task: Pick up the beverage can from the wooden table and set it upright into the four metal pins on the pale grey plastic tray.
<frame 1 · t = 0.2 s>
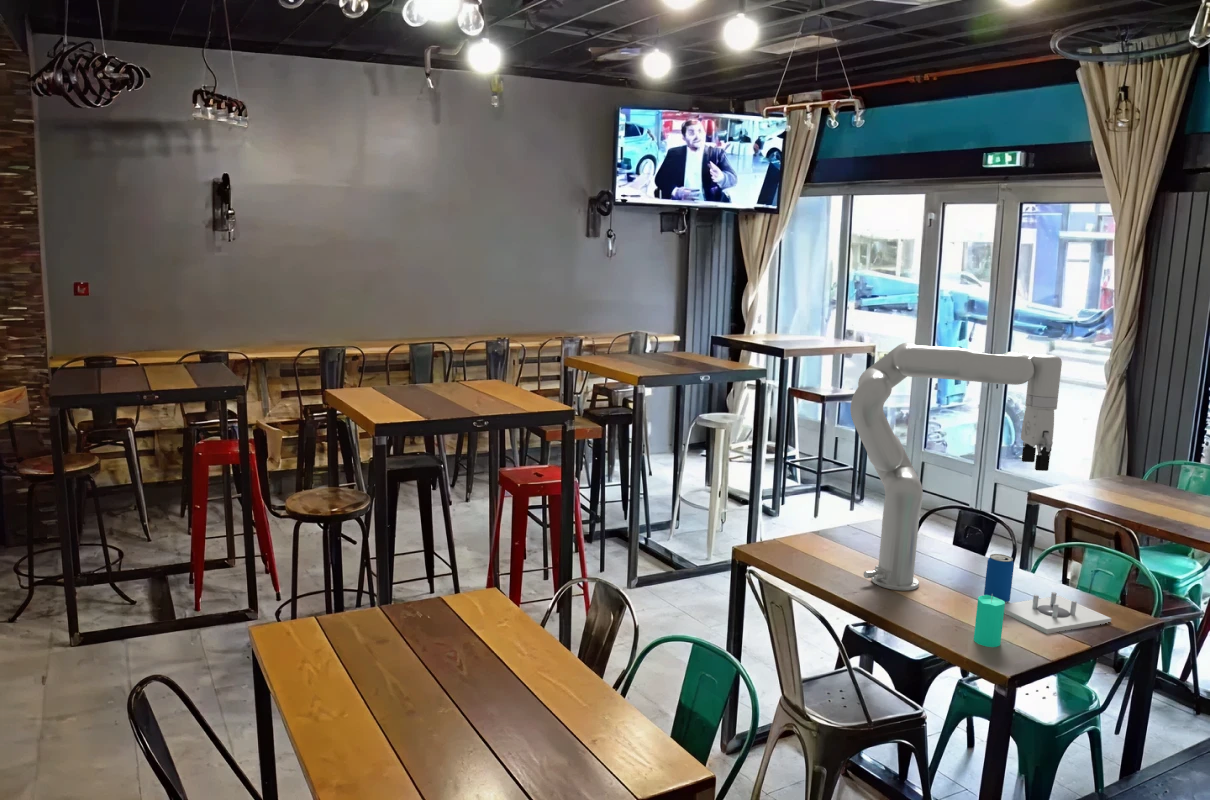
hand: (1034, 465, 249), 36 cm above the table, tool pointing down, fingers open, 9 cm apart
candle: (986, 642, 224), on the table
beverage can: (996, 601, 251), on the table
pin tray: (1052, 616, 242), on the table
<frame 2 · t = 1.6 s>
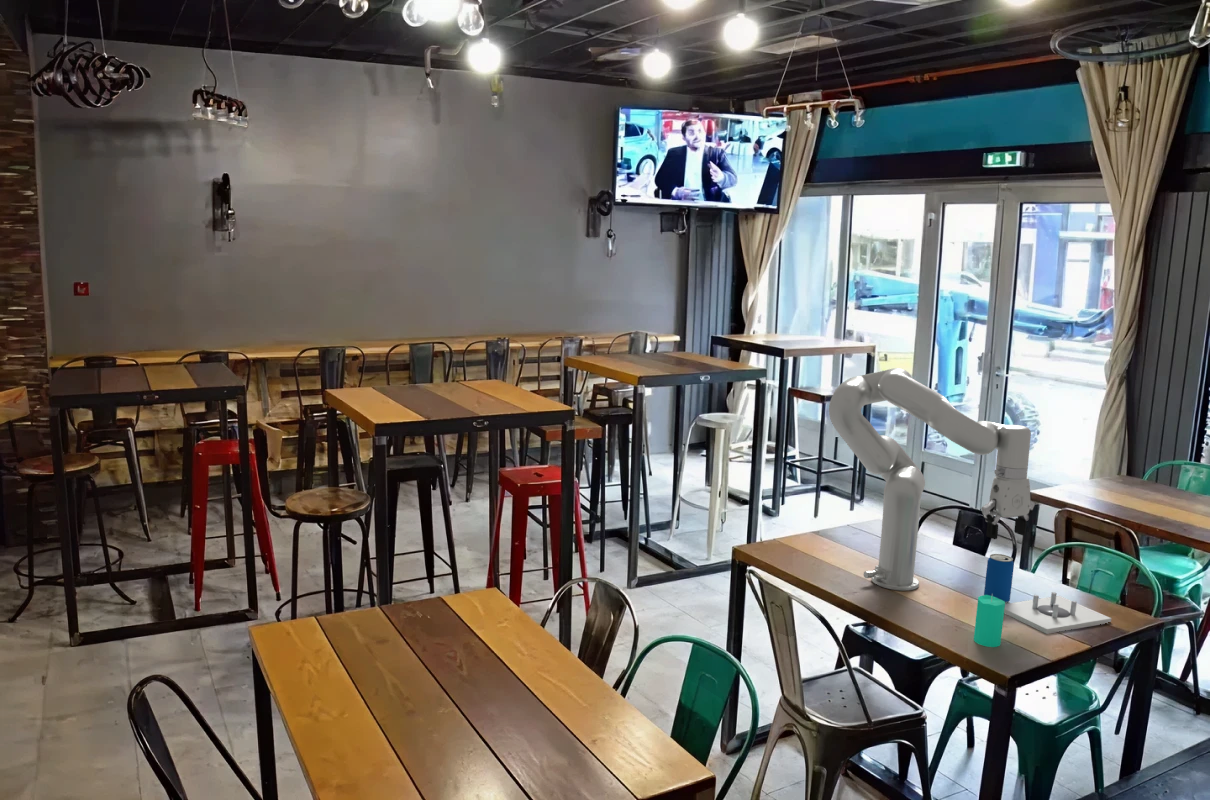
hand: (1005, 535, 248), 18 cm above the table, tool pointing down, fingers open, 9 cm apart
nothing on the table moved.
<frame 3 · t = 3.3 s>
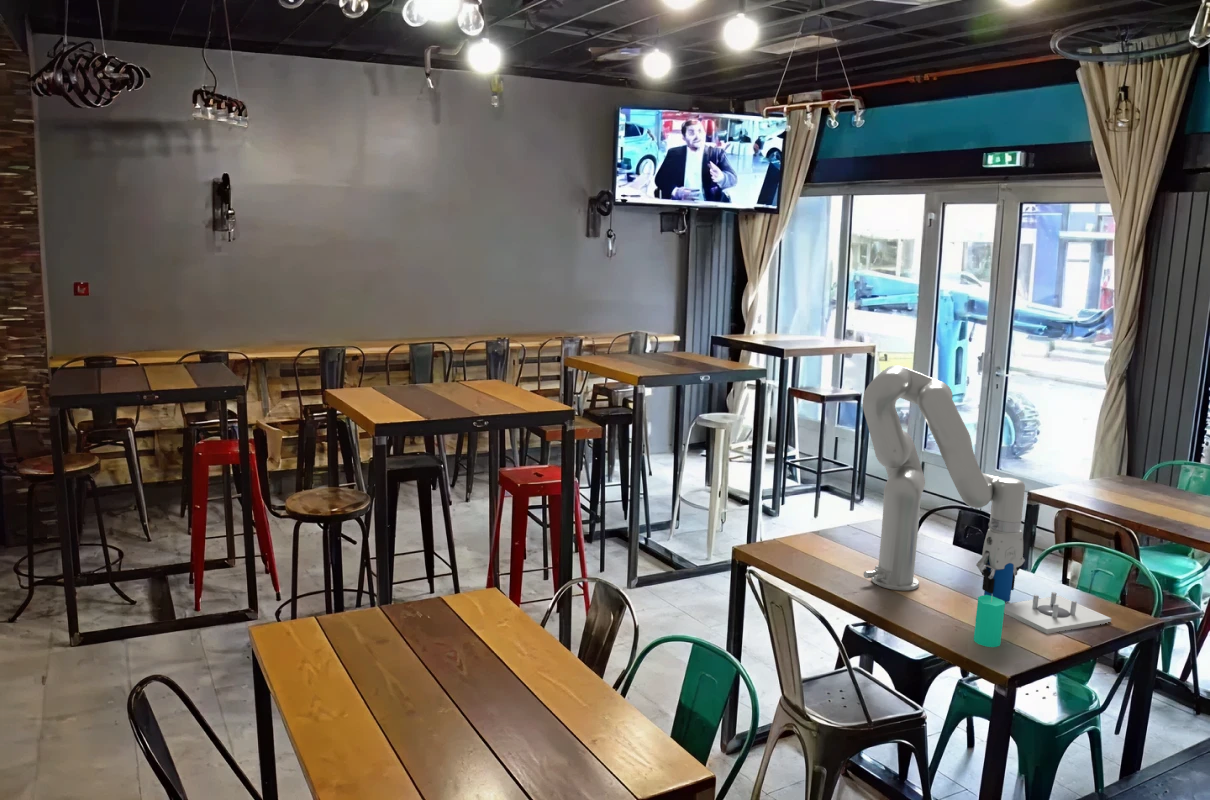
hand: (997, 589, 250), 3 cm above the table, tool pointing down, fingers closed on beverage can, 6 cm apart
beverage can: (996, 601, 251), on the table, touching gripper
everything else where it was.
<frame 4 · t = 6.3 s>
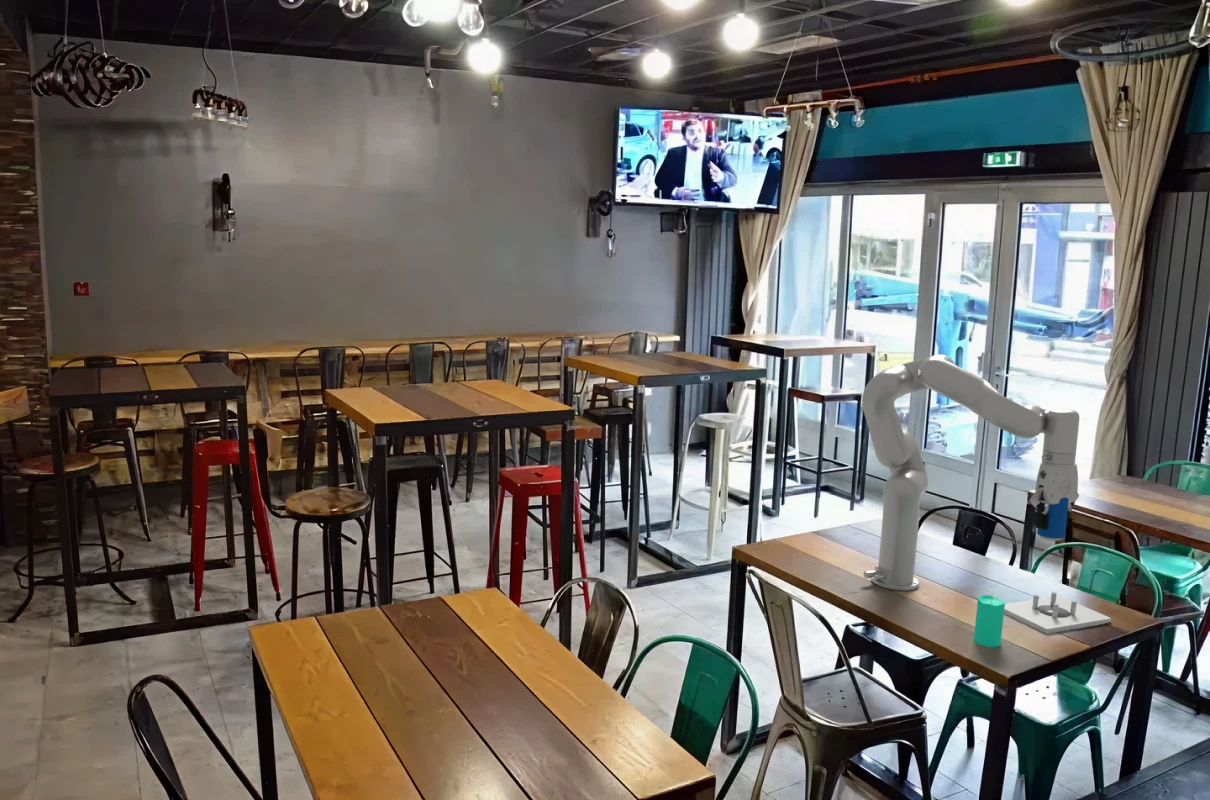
hand: (1051, 526, 240), 23 cm above the table, tool pointing down, fingers closed on beverage can, 6 cm apart
beverage can: (1050, 538, 240), point 20 cm above the table, touching gripper
everything else where it was.
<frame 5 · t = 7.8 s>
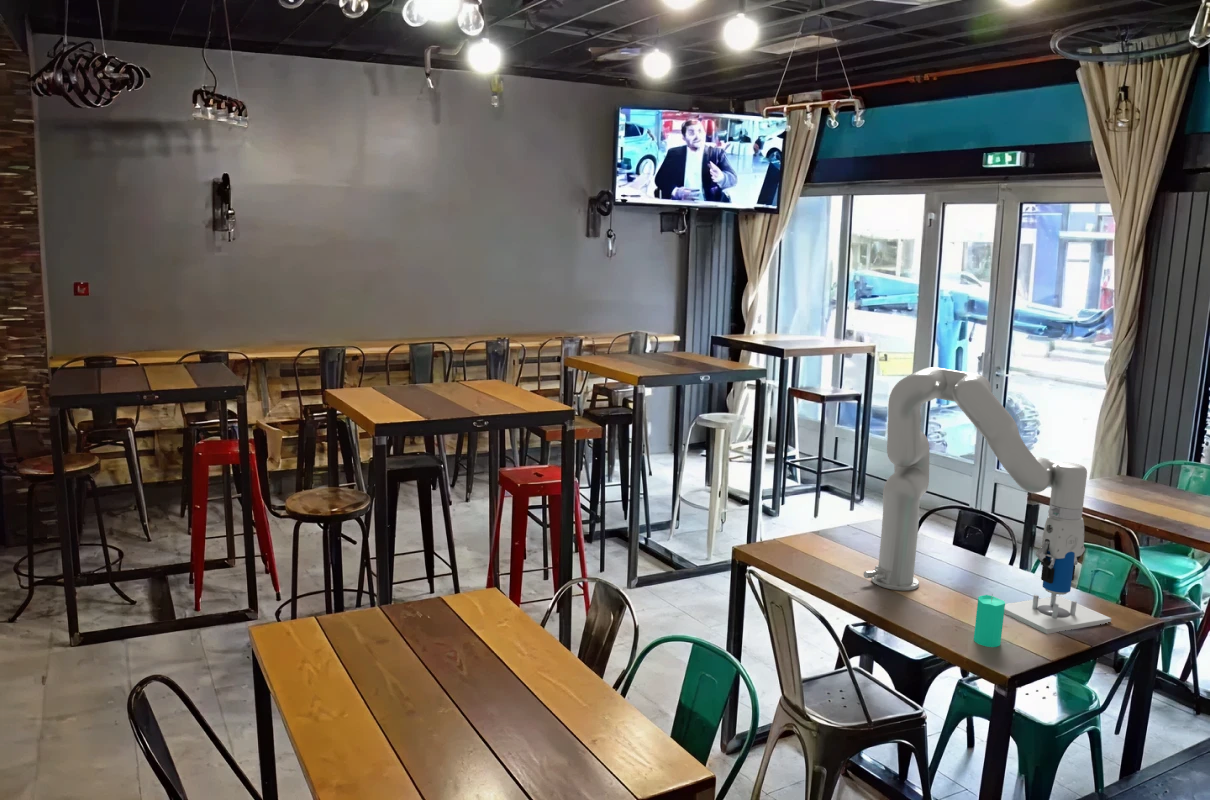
hand: (1057, 579, 240), 10 cm above the table, tool pointing down, fingers closed on beverage can, 6 cm apart
beverage can: (1055, 591, 240), point 7 cm above the table, touching gripper
everything else where it was.
when the fingers open (6 cm above the table, at t = 9.2 s): beverage can drops 1 cm, resting on pin tray.
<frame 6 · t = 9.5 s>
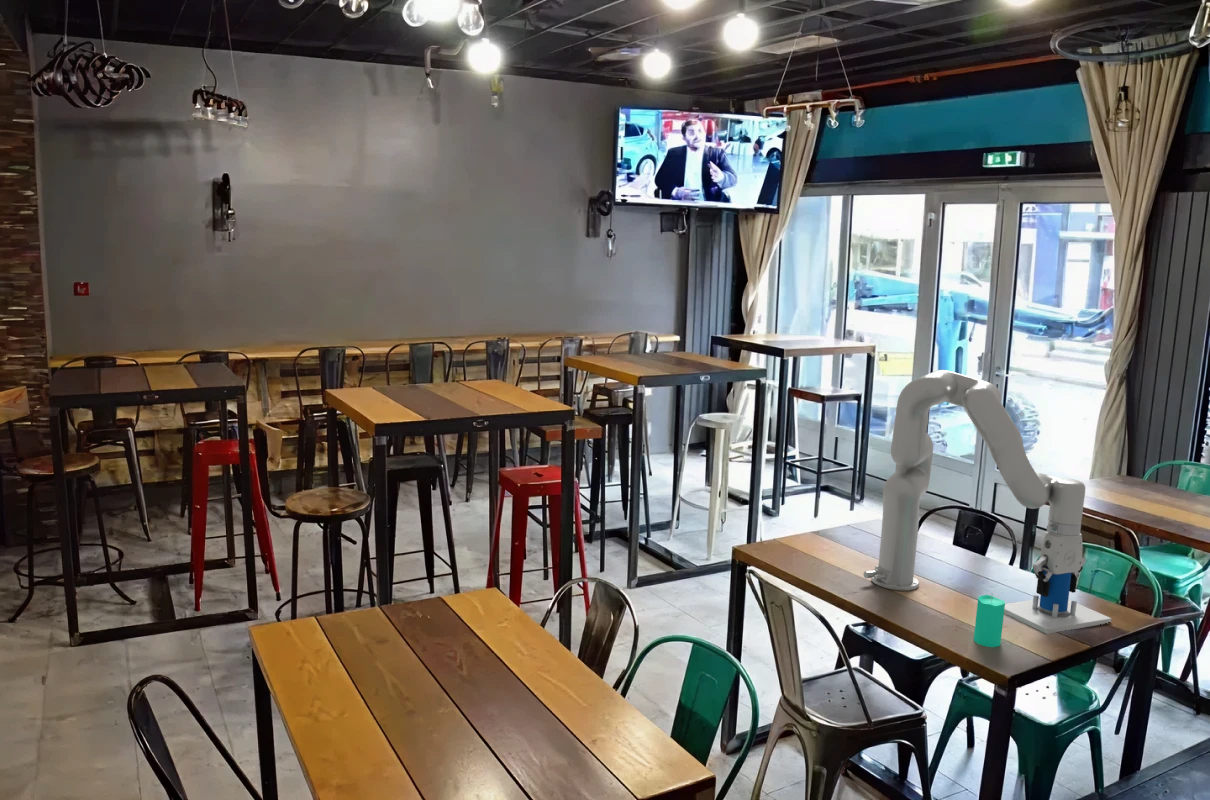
hand: (1055, 592, 241), 6 cm above the table, tool pointing down, fingers open, 9 cm apart
beverage can: (1052, 611, 241), point 1 cm above the table, touching pin tray
everything else where it was.
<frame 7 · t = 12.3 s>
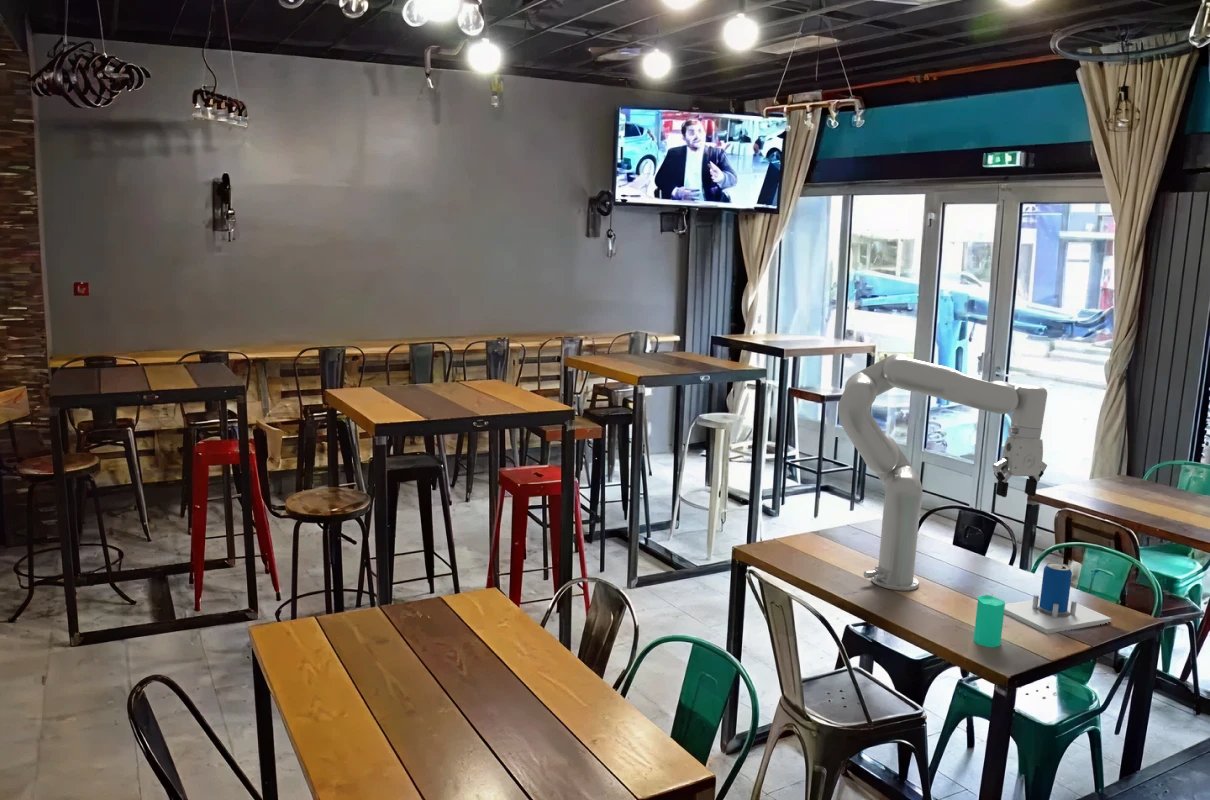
hand: (1015, 495, 250), 28 cm above the table, tool pointing down, fingers open, 9 cm apart
nothing on the table moved.
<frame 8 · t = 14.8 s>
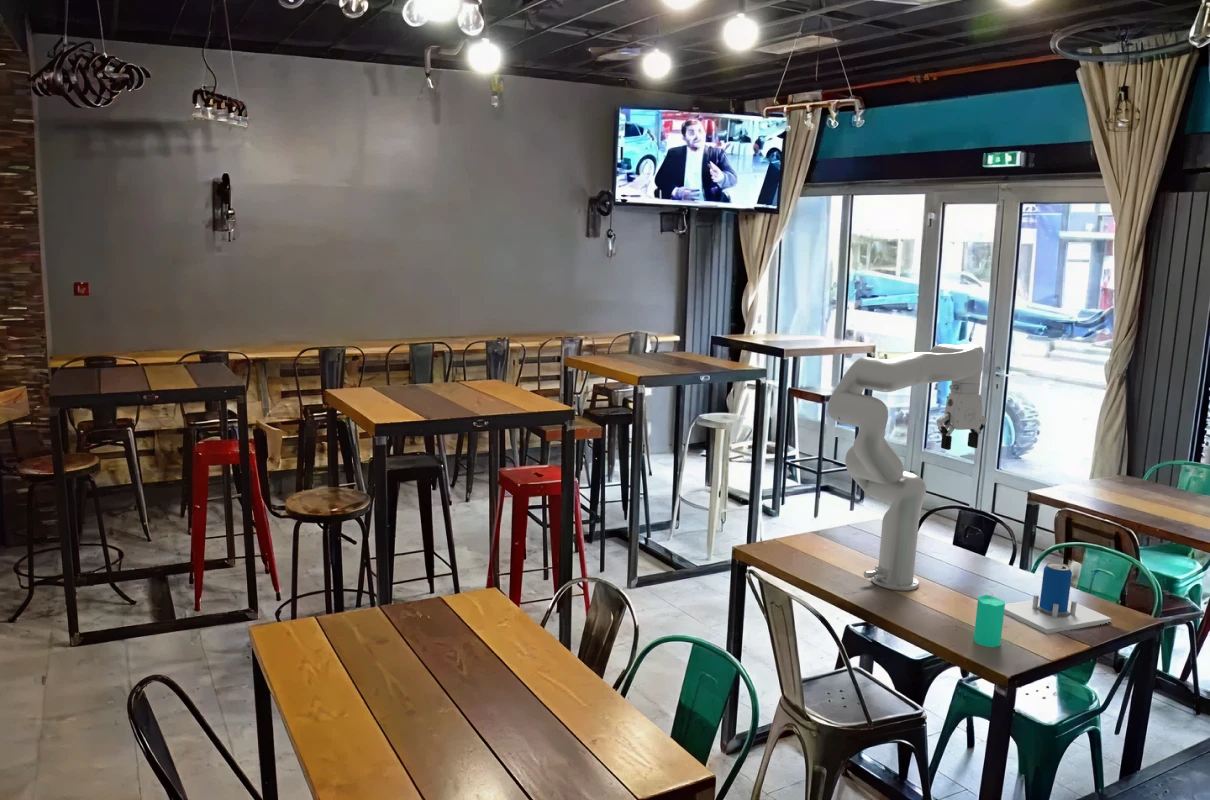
hand: (959, 448, 267), 36 cm above the table, tool pointing down, fingers open, 9 cm apart
nothing on the table moved.
at the end: beverage can 0.1 cm off-centre on the pin tray, point 1.2 cm above the pin tray's base; beverage can tilted 0°; the gripper is holding nothing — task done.
